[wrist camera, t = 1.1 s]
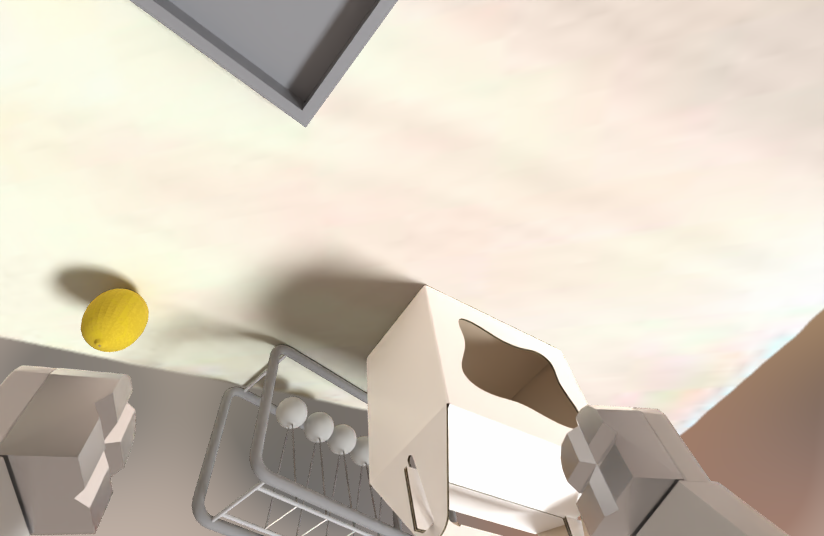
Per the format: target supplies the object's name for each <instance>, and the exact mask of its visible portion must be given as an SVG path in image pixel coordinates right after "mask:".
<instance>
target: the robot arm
mask: <svg viewBox="0 0 824 536" xmlns="http://www.w3.org/2000/svg"><path fill="white" fill-rule="evenodd" d="M132 391H133V389H132V383H131V377H130V376H129V375H127V374H120V373H108V372H97V371H87V370H76V369H65V368H48V367H37V366H25V365H22V366H20V367H19V368H17V369H16V370H14V371H12V372H11V373H10V374H9V375H8V376H7V378H6V379H5V380H4V382H3V383H2V384H1V385H0V536H30V535H62V534H95V533H96V531H97V528H98V526H99V524H100V521H101V519H102V517H103V515H104V512H105V510H106V508H107V506H108V503H109V501H110V499H111V496H112V494H113V490H112V484H111V477H112V476H113V475H115V474H116V473H117V472H119V471H120V470H121V469H123V468H124V466H125V464H126V461H127V459H128V457H129V454H130V452H131V448H132V444H133V440H134V436H135V428H136V414H135V409H134V408H133V407H132V406H131V405H129V404H128V403H127V402H128V399H129V397H130V395H131V393H132ZM576 420H577V423H578V426H577V427H576V428H574V429H573V430H571V431H569V432H568V433H567V434H566V436H565V438H564V440H563V442H562V444H561V456H560V460H561V465H562V470H563V473H564V475H565V478H566V480H567V482H568V483H569V484H570V485H571V486H572V487H573V488H574V489H575V490H576V491H577V492H578V493H579V494H578V498H577V502H576V505H577V507H578V510H579V512H580V514H581V517H582V519H583V522H584V524H585V526H586V529H587V531H588V534H589V536H789V535H788V534H787V533H785V532H784V531H783V530H781V529H780V528H779V527H777V526H776V525H775V524H773V523H772V522H771V521H769V520H768V519H767V518H765V517H764V516H763V515H761V514H760V513H759V512H757V511H756V510H755V509H753V508H752V507H750V506H749V505H748V504H747V503H745V502H744V501H743V500H741V499H740V498H739V497H737V496H736V495H735V494H733V493H732V492H730V491H729V490H728V489H727V488H725V487H724V486H723V485H721V484H720V483H719V482H711V481H710V480H709V478H708V477H707V475H706V474H705V472H704V471H703V469H702V468H701V466H700V465H699V463H698V462H697V461H696V459H695V458H694V456H693V455H692V453H691V452H690V450H689V449H688V447H687V446H686V445H685V443H684V441H683V440H682V439H681V437H680V436H679V434H678V433H677V431H676V430H675V428H674V427H673V425H672V424H671V423H670V421H669V420H668V418H667V417H666V415H665V414H664V413H662V412H661V411H660V410H658V409H650V408H631V407H618V406H600V405H586V406H585V407H583V408H581V409H580V411H579V413H578V414H577V416H576Z"/></svg>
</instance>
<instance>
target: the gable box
mask: <svg viewBox="0 0 824 536" xmlns="http://www.w3.org/2000/svg"><path fill="white" fill-rule="evenodd" d="M367 398H368V440H369V482H370V486H371V487H372V488H374V489H375V490H376V491H377V493H378V494H380V496H381V497H382V498H383V499H384V501H385V502H386V503H387V504H388V505H389V506H390V507H391V509H392V510H393V511H394V512H395V513H396V514H397V515H398V517H399V518H400V519H401V520H402V521H403V522H404V524H405V525H406V526H407V527H408V528H409V529H410V530H411V532H412V533H413V534H414V535H415V536H501V535H497V534H494V533H490V532H486V531H483V530H479V529H475V528H472V527H468V526H464V525H459V523H457V522H451V521H450V520H449V510H453V511H456V512H460V513H463V514H467V515H471V516H474V517H477V518H482V519H484V520H488V521H491V522H495V523H498V524H502V525H506V526H509V527H512V528H516V529H519V530H523V531H527V532H530V533H534V534H538V536H589V534H588V531H587V529H586V526H585V524H584V522H583V519H582V517H581V521H580V520H577V518H578V517H579V516H581V514H580V512H579V510H578V507H577V505H576V502H577V498H578V494H579V493H578V492H577V491H576V490H575V489H574V488H573V487H572V486H571V485H570V484H569V483H568V482H567V480H566V478H565V475H564V473H563V470H562V465H561V460H560V456H561V444H562V442H563V440H564V438H565V436H566V434H567V433H568V432H569V431H571V430H573V429H574V428H576V427H577V426H578V423H577V420H576V416H577V414H578V413H579V411H580V409H581V408H583V407H585V406H586V405H588V403H587V401H586V399H585V397H584V395H583V393H582V391H581V389H580V387H579V385H578V383H577V381H576V379H575V377H574V375H573V373H572V371H571V369H570V367H569V365H568V363H567V361H566V359H565V357H564V355H563V353H562V351H561V350H559V349H557V348H555V347H553V346H551V345H549V344H546V343H544V342H542V341H540V340H538V339H536V338H534V337H532V336H530V335H528V334H526V333H524V332H522V331H520V330H518V329H516V328H514V327H511V326H509V325H507V324H505V323H503V322H501V321H499V320H497V319H495V318H493V317H491V316H489V315H487V314H485V313H483V312H481V311H478V310H476V309H474V308H472V307H470V306H468V305H466V304H464V303H462V302H460V301H458V300H456V299H454V298H452V297H450V296H448V295H445V294H443V293H441V292H439V291H437V290H435V289H433V288H431V287H429V286H427V285H425V286H423V287H422V288H421V290H420V291H419V292H418V294H417V295H416V296H415V297H414V299H413V300H412V301H411V302H410V304H409V305H408V306H407V308H406V309H405V310H404V311H403V313H402V314H401V315H400V316H399V318H398V319H397V320H396V321H395V323H394V324H393V325H392V327H391V328H390V329H389V330H388V332H387V333H386V334H385V335H384V337H383V338H382V339H381V341H380V342H379V343H378V344H377V346H376V347H375V348H374V349H373V351H372V352H371V353H370V354H369V356H368V357H367ZM411 455H412V457H413V459H414V462H415V465H416V468H417V469H414V468H412V467H411V464H410V456H411ZM432 524H433V525H432Z"/></svg>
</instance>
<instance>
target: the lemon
mask: <svg viewBox="0 0 824 536" xmlns="http://www.w3.org/2000/svg"><path fill="white" fill-rule="evenodd" d="M147 322H148V307H147V304H146V302H145V301H144V299H143V298H142V297H141V296H140V295H139V294H137V293H135V292H133V291H131V290H128V289H112V290H108V291H106V292H104V293H101V294H100V295H99V296H97V297H96V298H95V299H94V300H93V301H92V302H91V303H90V304H89V306H88V307H87V309H86V311H85V313H84V315H83V318H82V323H81V332H82V336H83V338H84V339H85V341H86V342H87V343H88V344H89V345H90V346H91V347H93V348H95V349H97V350H100V351H104V352H114V351H119V350H122V349H124V348H126V347H128V346H130V345H131V344H132V343H134V342H135V341H136V340H137V338H138V337H139V336H140V335H141V334H142V332H143V331H144V329H145V327H146V324H147Z"/></svg>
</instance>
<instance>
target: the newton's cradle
mask: <svg viewBox="0 0 824 536" xmlns="http://www.w3.org/2000/svg"><path fill="white" fill-rule="evenodd" d="M281 354H283V356H282V357H280V355H281ZM286 356H288V357H289V358H291V359H293V360H294V361H296V362H298V363H299V364H301V365H303V366H304V367H306V368H308V369H309V370H311V371H313V372H315V373H316V374H318V375H320V376H321V377H323V378H325V379H326V380H328V381H330V382H331V383H333V384H335V385H336V386H338V387H340V388H341V389H343V390H345V391H346V392H348V393H350V394H351V395H353V396H355V397H357V398H358V399H360V400H362V401H363V402H365V403H367V404H368V398H367V393H365V392H364V391H362V390H360V389H359V388H357V387H356V386H354V385H352V384H351V383H349V382H347V381H346V380H344V379H342V378H341V377H339V376H337V375H336V374H334V373H333V372H331V371H329V370H328V369H326V368H324V367H323V366H321V365H319V364H318V363H316V362H314V361H313V360H311V359H309V358H308V357H306V356H305V355H303V354H301V353H300V352H298V351H296V350H295V349H293V348H291V347H289V346H287V345H278V346H276V347H275V348H273V349H272V351H271V353H270V358H269V362H268V367H267V370H266V371H264V372H263V373H262V374H261V375H260V376H259V377H258V378H256V379H255V380H254V381H253V382H252V383H251V384H250V385H248V386H247V387H246V388H245V389H244V388H241V387H232V388H229V389H228V390H226V391H225V393H224V395H223V397H222V400H221V403H220V407H219V410H218V414H217V417H216V420H215V424H214V427H213V431H212V434H211V438H210V441H209V444H208V448H207V451H206V455H205V458H204V462H203V465H202V468H201V472H200V475H199V479H198V482H197V486H196V489H195V492H194V496H193V501H192V510H193V514H194V516H195V518H196V520H197V521H198V522H199V523H200V524H201V525H202V526H204V527H205V528H207V529H210V530H213V531H215V532H218V533H221V534H223V535H226V536H263V535H260V534H258V533H255V532H253V531H250V530H248V529H245V528H242V527H240V526H237V525H234V524H231V523H229V522H226V521H224V520H221V519H219V518H220V517H221V516H222V517H224V518H227V519H230V520H233V521H235V522H237V523H240V524H243V525H245V526H248V527H251V528H253V529H256V530H258V531H261V532H264V533H266V534H269V535H271V536H283V535H281V534H278V533H276V532H273V531H271V530H268V529H267V528H268V527H269V526H271V525H272V524H273V523H275V522H276V521H278V520H279V519H281V518H282V517H284V515H283V516H282V517H281V518H279V519H278V520H276V521H275V522H273V523H272V524H271V525H269V526H268V527H267V525H268V520H269V516H270V511H271V507H272V502H273V498H274V497H275V498H278V499H280V500H282V501H285V502H287V503H289V504H292V505H294V506H296V507H299V508H301V515H300V519H299V524H298V529H297V534H296V536H298V531H299V526H300V521H301V516H302V511H303V510H306V511H308V512H310V513H313V514H315V515H317V516H320V517H322V518H324V519H326V520H328V525H327V532H326V536H327V534H328V527H329V521H331V522H334V523H336V524H338V525H341V526H343V527H346V528H348V529H350V530H352V531H353V532H352V533H353V536H354V533H355V532H357V533H359V534H362V535H364V536H374V535H372V534H370V533H368V532H365V531H363V530H360V529H358V528H356V527H355V525H356V523H357V524H359V525H361V526H363V527H365V528H368V529H370V530H372V531H375V532H377V533H378V536H380V534H381V535H384V536H412V535H410V534H408V533H406V532H403V531H402V522H401V519H400V518H399V517H398V515H397V514H396V513H395V512H394V511H393V524H394V527H392V526H390V525H388V524H386V523H384V522H381V521H380V516H381V505H382V504H381V503H382V497H381V503H380V514H379V520H377V516H376V511H375V505H374V500H373V494H372V489H371V486H370V490H371V496H372V501H373V507H374V512H375V518H376V519H375V518H372V517H370V516H368V515H366V514H364V513H362V512H359V511H357V509H358V500H359V493H360V484H361V476H362V468H363V466H366V468H367V466H368V465H369V440H368V437H367V436H361V437H358V438H357V437H356V433H355V431H354V429H353V428H352V427H350V426H348V425H346V424H340V425H337V426H335V427H334V422H333V420H332V418H331V416H330V415H328V414H327V413H325V412H314V413H312V414H311V415H309V417H308V418H307V419H306V417H307V414H308V411H307V406H306V404H305V402H304V401H303V400H302V399H300V398H298V397H288V398H286V399H284V400H282V402H281V403H280V404H279V405H278V406H276V405H274V404H272V403H271V402H272V396H273V392H274V386H275V381H276V375H277V370H278V364H279V363H280V362H281V361H282V360H283V359H284V358H285V357H286ZM265 375H266V377H265V382H264V387H263V391H262V397H259V396H257V395H255V394H253V393H252V392H250V391H248V390H249V389H250V388H251V387H252V386H253V385H254V384H256V383H257V382H258V381H259V380H260V379H261V378H262V377H264V376H265ZM233 396H238V397H241V398H243V399H245V400H247V401H249V402H250V403H252V404H254V405H256V406H258V407H259V411H258V416H257V421H256V426H255V430H254V435H253V441H252V445H251V449H250V459H249V461H250V465H251V468H252V470H253V472H254V474H255V475H256V476H257V477H258V479H259V480H261V481H260V482H259V483H258V484H256V485H255V486H254V487H252V488H251V489H250V490H249V491H247V492H246V493H245V494H243V495H242V496H241V497H239V498H238V499H237V500H235V501H234V502H233V503H231V504H230V505H229V506H228V507H226V508H225V509H224V510H222V511H221V512H220V513H218V514H217V515H216V516H214V517H213V516H211V515H210V514H209V513H208V512H207V511H206V509H205V506H204V500H205V496H206V492H207V489H208V485H209V481H210V478H211V474H212V470H213V466H214V463H215V459H216V455H217V452H218V448H219V444H220V440H221V436H222V433H223V429H224V426H225V422H226V418H227V415H228V411H229V407H230V404H231V400H232V397H233ZM269 413H272V414H273V415H276V418H277V421H278V422H279V424H281V425H282V426H283V427H285V428H288V429H287V434H286V438H285V443H284V447H283V451H282V456H281V460H280V465H279V469H278V474H276V473H274V472H272V471H270V470H269V469H268V468H267V467H266V466H265V464H264V462H263V459H262V452H263V446H264V441H265V435H266V430H267V424H268V419H269ZM305 420H306V421H305ZM297 427H298V428H300V429H302V430H304V433H305V435H306V437H307V438H308V439H309V440H310V441H312V442H315V446H314V451H313V456H312V461H311V465H310V471H309V475H308V480H307V485H306V487H304V486H302V485H300V484H298V483H296V469H295V450H294V432H293V428H297ZM289 429H292V437H293V438H292V439H293V458H294V479H295V482H293V481H291V480H289V479H287V478H285V477H283V476H280V475H279V471H280V467H281V462H282V458H283V453H284V449H285V444H286V440H287V436H288V431H289ZM324 441H325V442H327V443H328V446H329V448H330V449H331V451H333V452H334V453H336V454H339V458H338V464H337V470H336V476H335V482H334V489H333V495H332V499H331V498H329V497H327V496H325V485H324V474H323V462H322V451H321V442H324ZM316 443H320V454H321V466H322V478H323V491H324V495H322V494H320V493H317V492H316V491H313V490H311V489H309V488H307V487H308V482H309V477H310V472H311V467H312V462H313V457H314V452H315V447H316ZM347 453H348V454H350V456H351V458H352V460H353V462H354V463H356V464H357V465H359V466H361V474H360V482H359V491H358V498H357V507H356V510H355V509H353V508H352V503H351V496H350V489H349V482H348V475H347V467H346V460H345V454H347ZM340 455H344V462H345V470H346V477H347V484H348V492H349V498H350V507H348V506H346V505H344V504H342V503H340V502H338V501H335V500H333V497H334V490H335V484H336V478H337V472H338V465H339V460H340ZM367 474H368V479H369V473H368V468H367ZM263 484H267V485H270V486H272V487H274V491H271V490H268V489H266V488H264V487H261V486H262V485H263ZM369 485H370V482H369ZM275 489H279V490H281V491H283V492H286V493H288V494H290V495H292V496H295V498H296V501H294V500H291V499H289V498H287V497H285V496H282V495H280V494H278V493H275ZM256 490H259V491H261V492H264V493H266V494H268V495H270V496H272V500H271V505H270V509H269V513H268V518H267V522H266V526H265V528H263V527H260V526H258V525H255V524H253V523H250V522H248V521H245V520H242V519H240V518H237V517H235V516H232V515H229V514H227V513H226V512H228V511H229V510H230V509H232V508H233V507H234V506H236V505H237V504H238V503H240V502H241V501H242V500H244V499H245V498H246V497H248V496H249V495H250V494H251V493H253V492H254V491H256ZM297 498H299V499H302V500H303V504H300V503H298V502H297ZM304 501H306V502H308V503H311V504H313V505H315V506H318V507H320V508H322V509H325V514H324V513H321V512H319V511H317V510H315V509H312V508H310V507H307V506H305V505H304ZM296 507H295V508H296ZM295 508H293V509H295ZM293 509H292V510H293ZM292 510H291V511H292ZM291 511H289V512H291ZM327 511H329V512H330V514H329V516H328V515H327ZM289 512H288V513H289ZM288 513H286V514H288ZM331 513H334V514H336V515H338V516H341V517H343V518H345V519H347V520H350V521H352V522H353V526H351V525H349V524H346V523H345V522H342V521H340V520H338V519H335V518H333V517H331V516H330V515H331ZM286 514H285V515H286ZM326 520H324V521H326ZM449 520H450V521H451V522H457V519H456V514H455V511H453V510H449ZM324 521H323V522H324ZM323 522H321V523H323ZM321 523H320V524H321ZM320 524H318V525H320ZM318 525H317V526H318ZM317 526H315V527H317ZM315 527H314V528H315ZM314 528H312V529H314ZM312 529H311V530H312ZM311 530H309V531H311ZM309 531H308V532H309ZM308 532H306V533H308ZM306 533H305V534H306ZM352 533H350V534H349V535H351V534H352ZM305 534H304V535H305ZM349 535H348V536H349ZM302 536H303V535H302Z"/></svg>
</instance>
